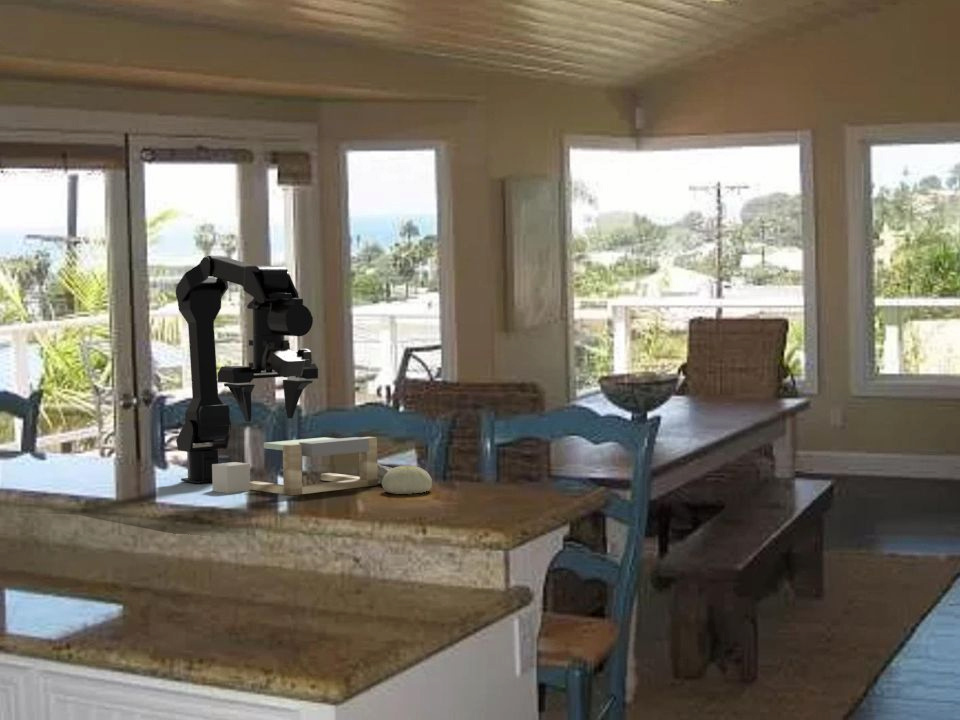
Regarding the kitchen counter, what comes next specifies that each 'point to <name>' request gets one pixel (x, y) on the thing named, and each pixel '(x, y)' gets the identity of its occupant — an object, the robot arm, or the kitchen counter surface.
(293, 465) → the frame
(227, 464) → the off-white cube
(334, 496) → the kitchen counter surface
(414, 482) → the sea urchin shell
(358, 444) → the trapdoor
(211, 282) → the robot arm
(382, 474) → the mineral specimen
